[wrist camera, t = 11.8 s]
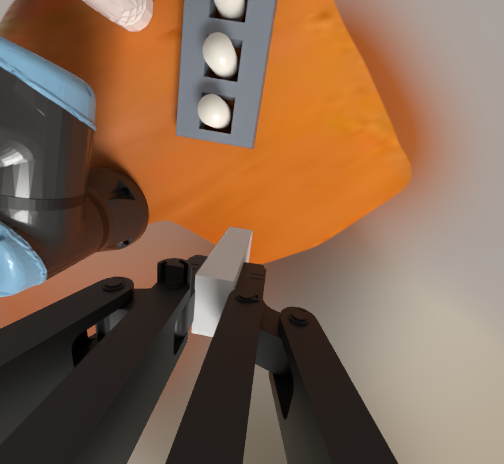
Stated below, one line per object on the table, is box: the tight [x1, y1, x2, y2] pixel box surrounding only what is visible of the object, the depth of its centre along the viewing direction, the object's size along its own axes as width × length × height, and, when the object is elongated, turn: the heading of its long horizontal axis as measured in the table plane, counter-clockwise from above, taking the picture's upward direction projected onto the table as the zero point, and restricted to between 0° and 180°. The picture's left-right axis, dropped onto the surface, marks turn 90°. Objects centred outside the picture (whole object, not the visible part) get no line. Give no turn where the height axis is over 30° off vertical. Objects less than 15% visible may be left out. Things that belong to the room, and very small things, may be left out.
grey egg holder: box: [176, 0, 277, 149], centre depth 34 cm, size 12×22×6 cm, turn 171°
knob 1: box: [198, 94, 232, 129], centre depth 36 cm, size 4×4×5 cm
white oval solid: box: [203, 32, 239, 80], centre depth 34 cm, size 4×4×5 cm
